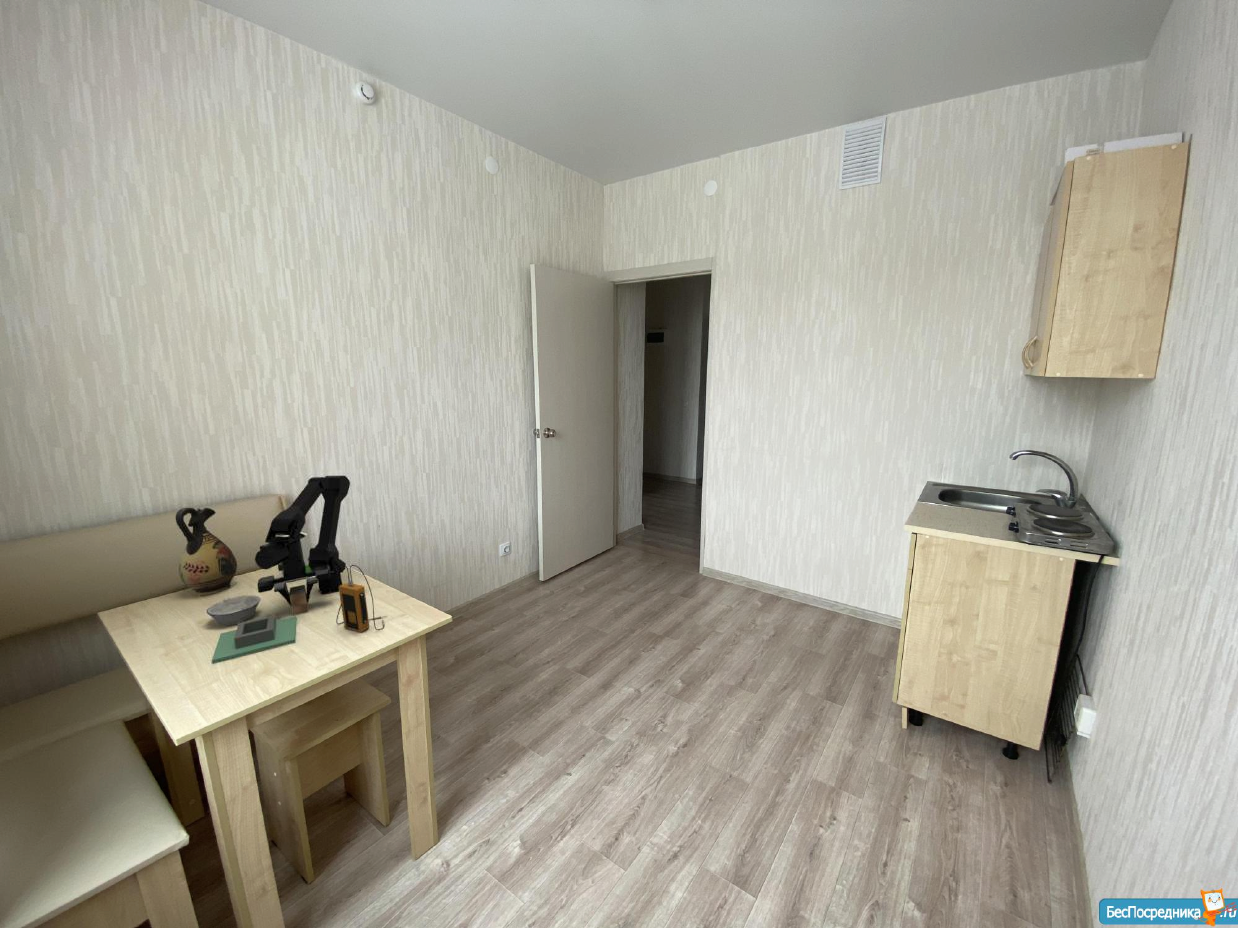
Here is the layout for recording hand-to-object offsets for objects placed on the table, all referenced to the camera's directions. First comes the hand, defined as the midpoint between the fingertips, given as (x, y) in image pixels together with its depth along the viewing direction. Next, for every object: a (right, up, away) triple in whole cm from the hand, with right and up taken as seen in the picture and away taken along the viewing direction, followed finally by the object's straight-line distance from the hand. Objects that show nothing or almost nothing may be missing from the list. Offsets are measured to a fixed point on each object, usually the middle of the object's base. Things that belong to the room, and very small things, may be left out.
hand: (299, 604), depth 158 cm
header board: (-1, -5, -16) cm, 17 cm away
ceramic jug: (-41, 0, +17) cm, 45 cm away
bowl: (-17, -4, -3) cm, 18 cm away
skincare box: (-17, +2, +27) cm, 32 cm away
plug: (0, -2, 0) cm, 2 cm away
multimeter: (+25, -3, -9) cm, 27 cm away
